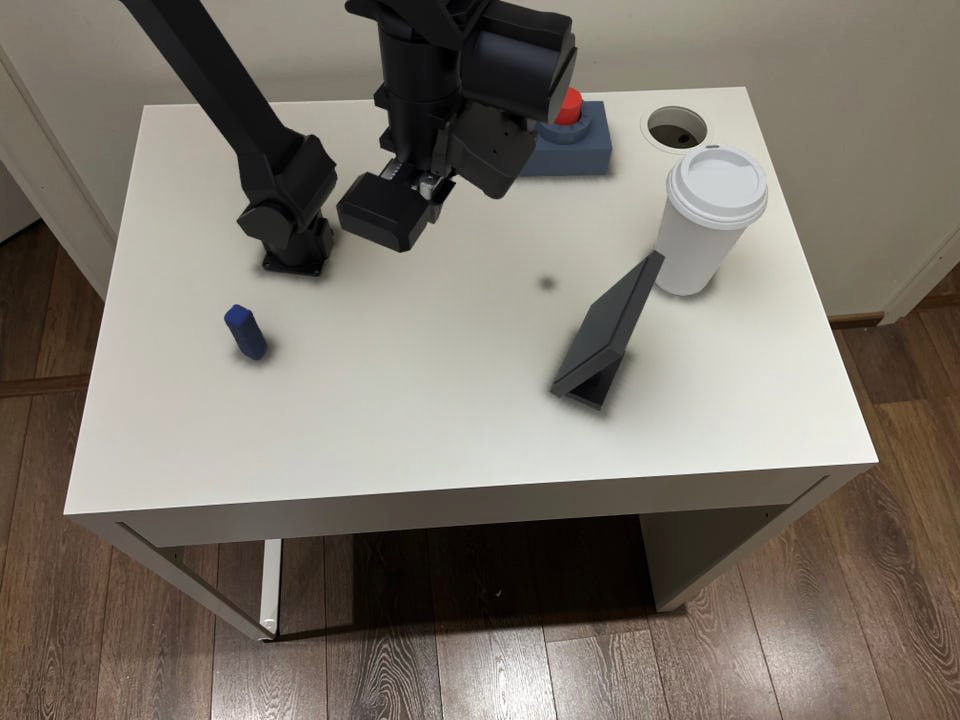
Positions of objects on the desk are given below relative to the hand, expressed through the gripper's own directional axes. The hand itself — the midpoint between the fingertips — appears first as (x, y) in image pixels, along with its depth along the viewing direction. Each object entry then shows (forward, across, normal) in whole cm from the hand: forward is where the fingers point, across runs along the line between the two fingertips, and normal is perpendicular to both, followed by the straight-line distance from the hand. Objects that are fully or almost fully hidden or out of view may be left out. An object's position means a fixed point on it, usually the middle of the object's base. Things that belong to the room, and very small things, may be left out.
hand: (431, 219), depth 63 cm
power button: (+7, +26, -3) cm, 27 cm away
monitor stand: (+13, -1, -17) cm, 21 cm away
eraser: (+13, -14, +14) cm, 23 cm away
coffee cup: (+13, +15, -22) cm, 30 cm away
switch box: (+13, +26, -3) cm, 29 cm away
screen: (+10, -1, -16) cm, 19 cm away
